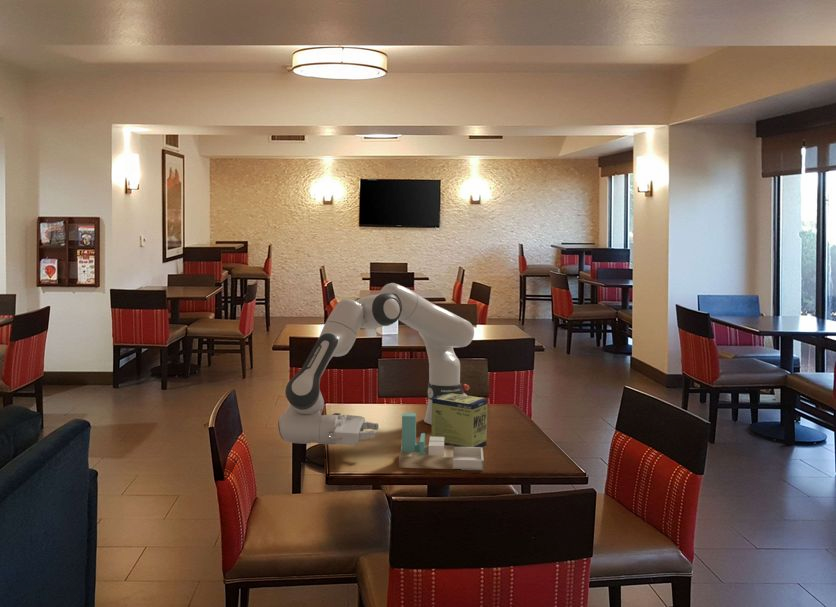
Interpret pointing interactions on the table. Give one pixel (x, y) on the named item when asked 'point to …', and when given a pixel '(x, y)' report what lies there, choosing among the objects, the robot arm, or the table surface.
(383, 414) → the table surface
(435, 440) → the tile
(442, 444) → the white small block
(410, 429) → the teal uneven u-shaped block
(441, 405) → the protein box
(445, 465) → the board
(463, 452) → the tray
